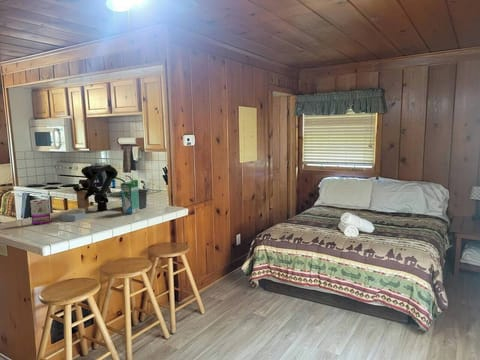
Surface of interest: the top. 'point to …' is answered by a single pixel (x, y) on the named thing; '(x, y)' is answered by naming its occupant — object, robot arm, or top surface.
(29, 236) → the top surface
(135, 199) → the milk carton
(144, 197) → the storage bin
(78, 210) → the birch block
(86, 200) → the walnut block
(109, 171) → the robot arm
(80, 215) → the base block
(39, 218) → the candy bar box
